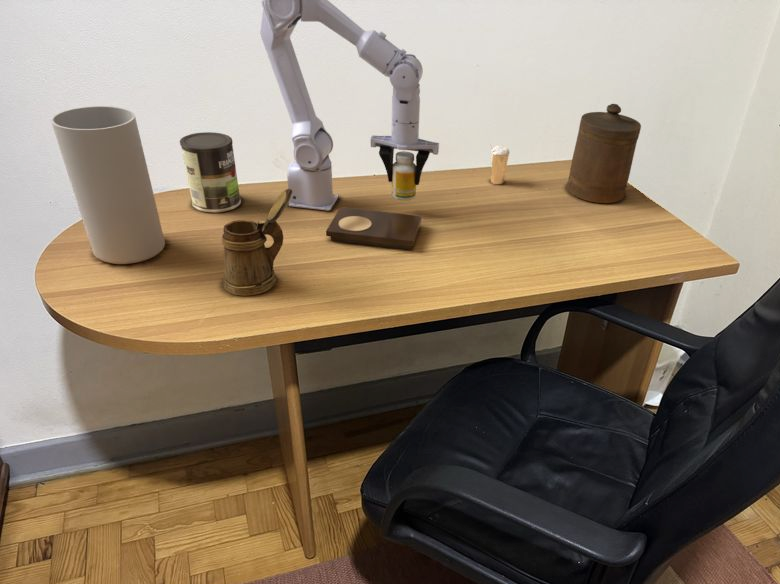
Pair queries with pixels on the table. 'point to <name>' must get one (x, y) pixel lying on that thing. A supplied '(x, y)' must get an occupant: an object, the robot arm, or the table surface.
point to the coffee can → (211, 171)
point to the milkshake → (498, 164)
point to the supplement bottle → (404, 176)
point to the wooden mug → (253, 251)
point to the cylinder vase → (110, 182)
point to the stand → (374, 228)
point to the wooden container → (603, 156)
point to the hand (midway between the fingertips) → (403, 181)
